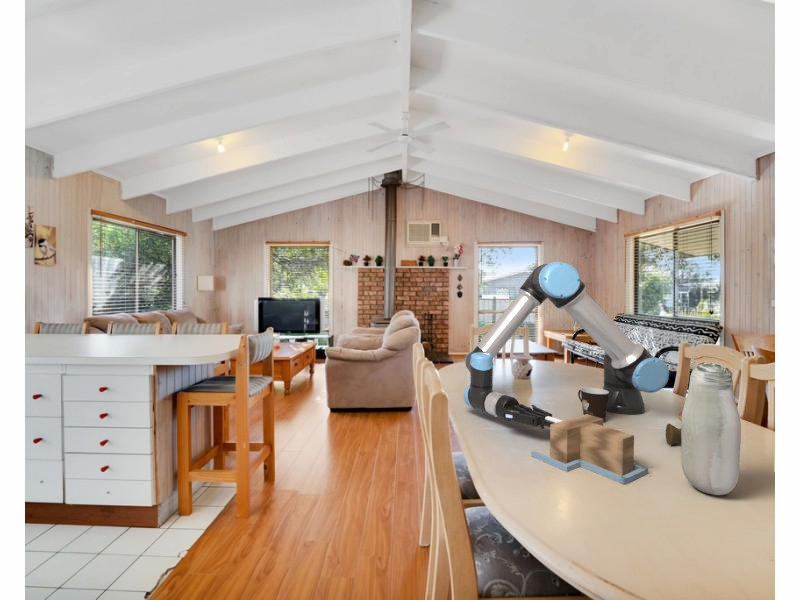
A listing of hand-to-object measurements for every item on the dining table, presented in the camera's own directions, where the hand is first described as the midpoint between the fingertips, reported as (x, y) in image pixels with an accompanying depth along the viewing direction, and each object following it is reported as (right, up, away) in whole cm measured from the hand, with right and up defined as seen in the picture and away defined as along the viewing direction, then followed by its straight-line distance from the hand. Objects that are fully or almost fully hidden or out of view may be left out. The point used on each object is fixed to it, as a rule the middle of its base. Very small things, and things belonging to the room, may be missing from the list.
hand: (566, 427), depth 111 cm
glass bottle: (+23, -7, -21) cm, 32 cm away
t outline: (+4, -7, -6) cm, 10 cm away
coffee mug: (+20, -6, +28) cm, 35 cm away
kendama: (+34, -7, +1) cm, 35 cm away
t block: (+5, -7, -6) cm, 11 cm away
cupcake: (+46, -6, +15) cm, 48 cm away
